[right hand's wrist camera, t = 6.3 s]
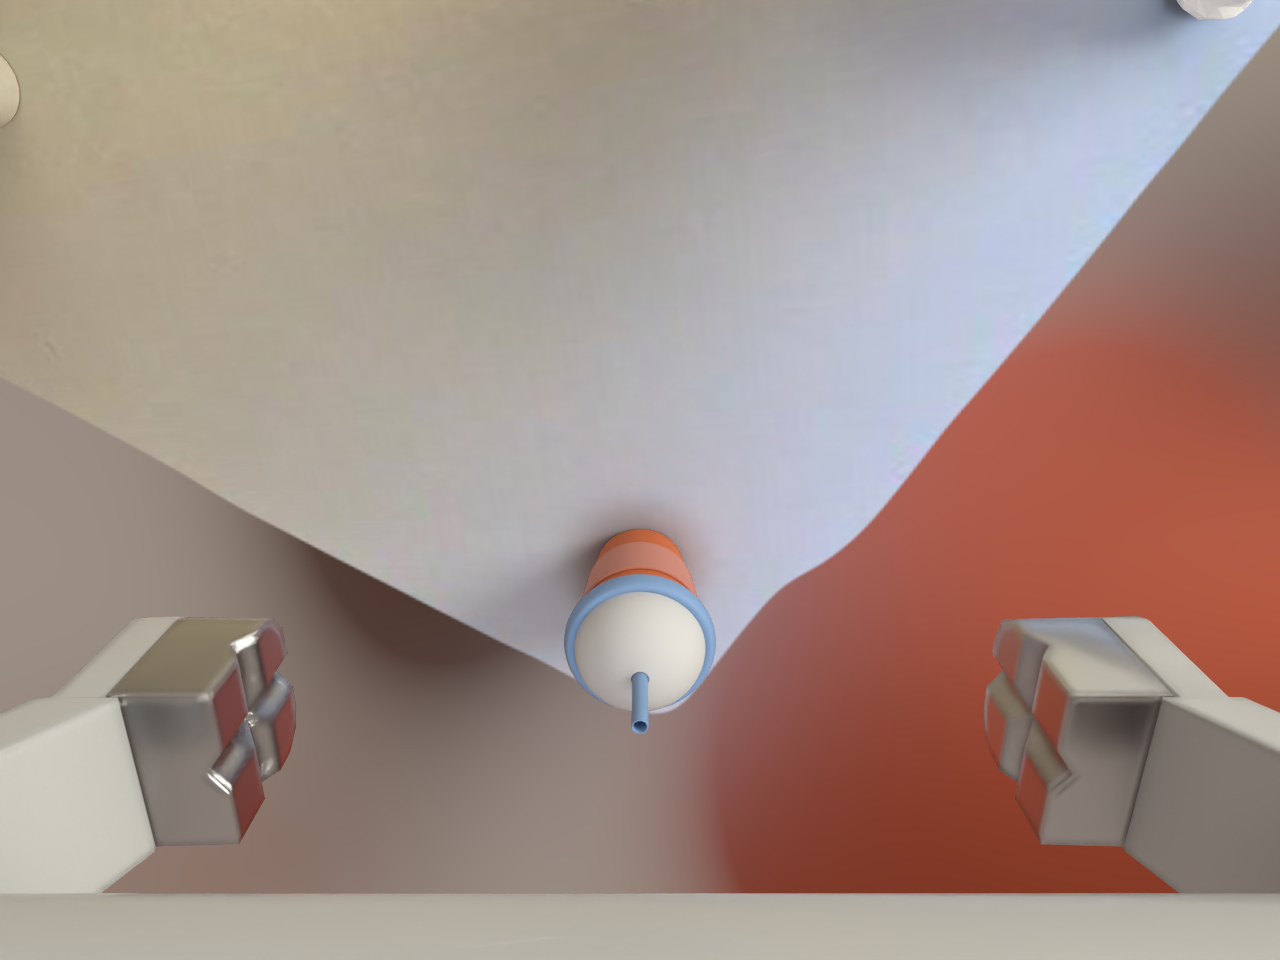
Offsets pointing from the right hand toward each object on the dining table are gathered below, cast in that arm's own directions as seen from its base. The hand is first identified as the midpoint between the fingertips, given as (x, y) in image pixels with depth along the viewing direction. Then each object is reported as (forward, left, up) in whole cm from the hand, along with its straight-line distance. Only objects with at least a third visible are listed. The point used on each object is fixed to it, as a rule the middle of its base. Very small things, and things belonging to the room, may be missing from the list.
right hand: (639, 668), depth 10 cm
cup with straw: (+23, 0, -48) cm, 53 cm away
